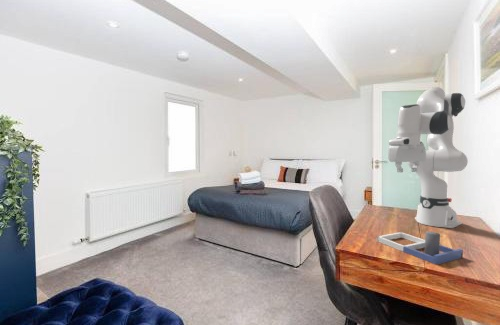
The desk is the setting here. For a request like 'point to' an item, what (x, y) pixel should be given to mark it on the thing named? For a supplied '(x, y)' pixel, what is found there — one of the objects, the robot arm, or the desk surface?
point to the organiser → (420, 243)
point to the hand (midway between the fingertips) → (407, 172)
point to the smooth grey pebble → (432, 243)
